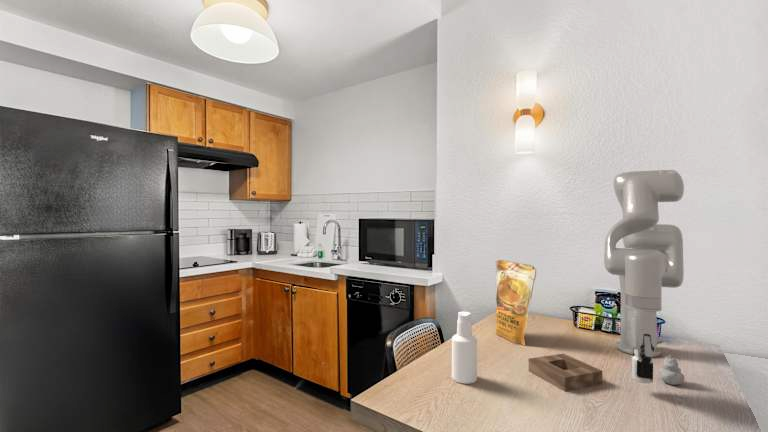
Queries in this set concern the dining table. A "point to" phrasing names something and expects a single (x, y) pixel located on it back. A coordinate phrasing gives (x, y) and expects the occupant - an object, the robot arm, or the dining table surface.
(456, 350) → the spray bottle
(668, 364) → the grey swirl figurine
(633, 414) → the dining table surface
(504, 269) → the pancake mix bag
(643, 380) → the pill bottle
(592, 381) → the holder block
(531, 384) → the dining table surface
